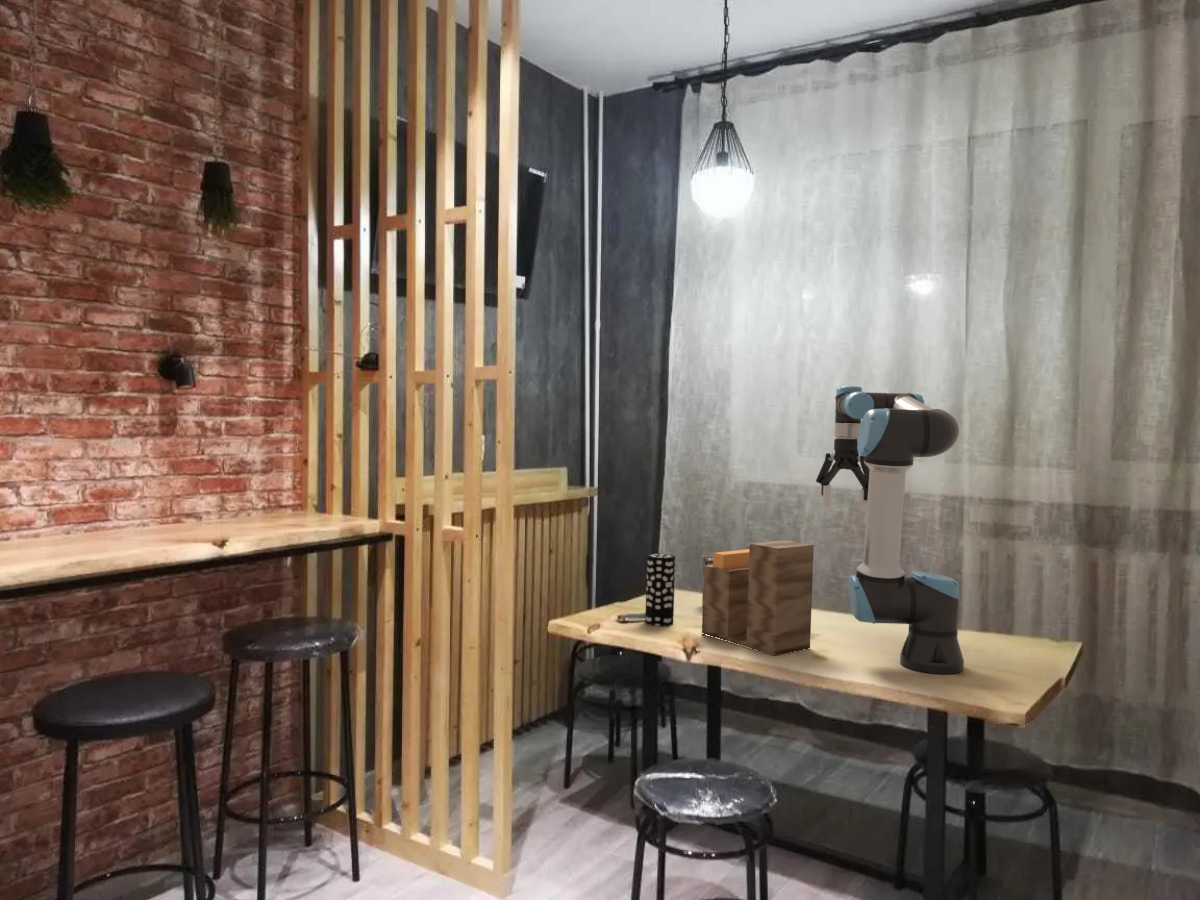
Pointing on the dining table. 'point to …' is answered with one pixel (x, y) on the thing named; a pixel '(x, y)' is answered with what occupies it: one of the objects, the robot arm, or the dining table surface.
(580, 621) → the dining table surface
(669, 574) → the white-spotted black cylinder
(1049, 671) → the dining table surface
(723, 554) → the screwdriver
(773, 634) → the stepped wooden block
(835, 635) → the dining table surface
